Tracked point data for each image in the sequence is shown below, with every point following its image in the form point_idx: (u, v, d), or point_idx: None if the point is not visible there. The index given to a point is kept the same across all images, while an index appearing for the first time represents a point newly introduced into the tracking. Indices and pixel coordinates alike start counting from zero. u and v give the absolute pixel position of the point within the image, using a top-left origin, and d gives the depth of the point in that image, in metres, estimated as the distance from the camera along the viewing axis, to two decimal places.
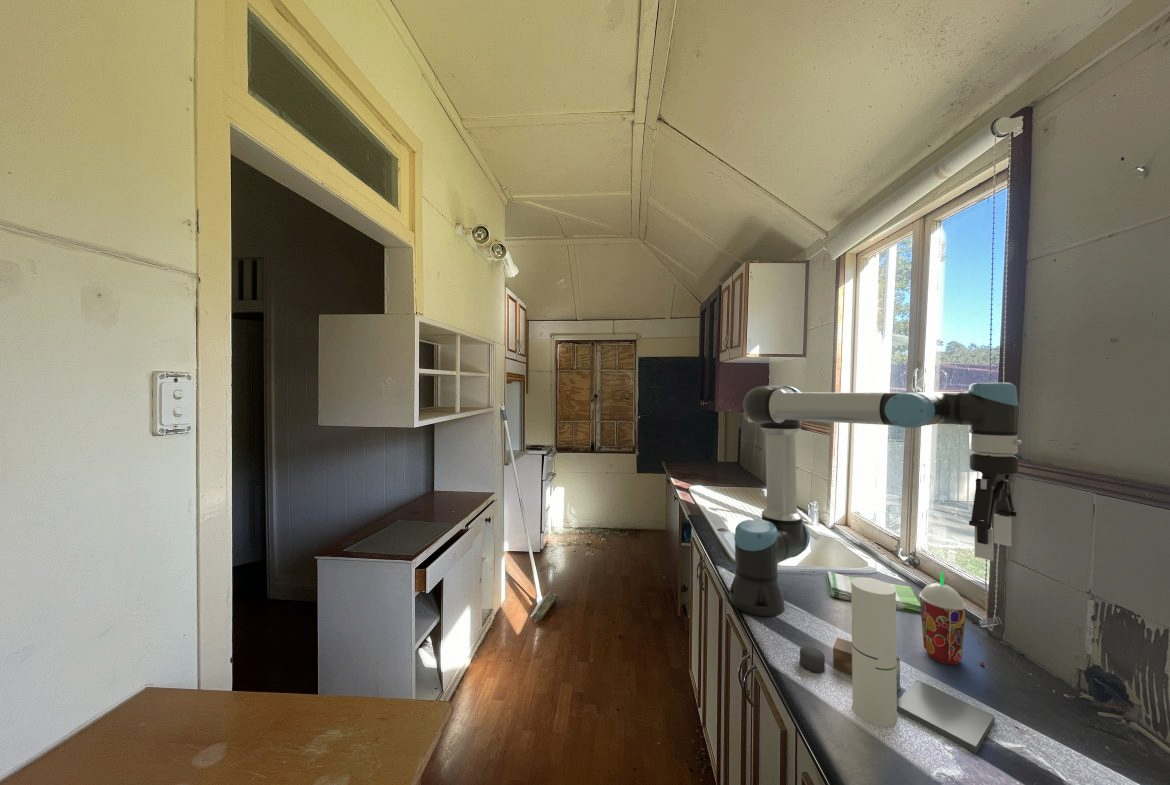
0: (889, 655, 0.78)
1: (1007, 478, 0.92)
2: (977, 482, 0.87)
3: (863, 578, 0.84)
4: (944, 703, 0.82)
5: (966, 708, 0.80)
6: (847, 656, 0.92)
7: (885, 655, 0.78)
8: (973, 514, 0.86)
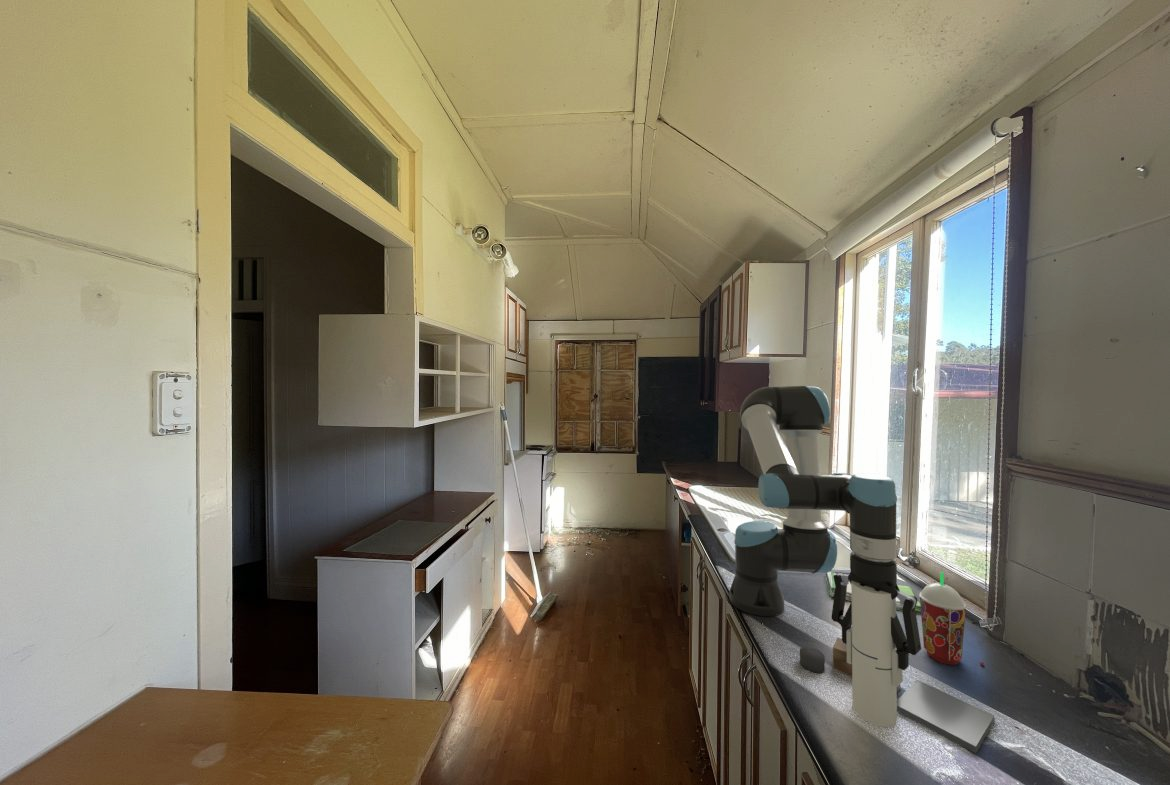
0: (889, 655, 0.78)
1: (904, 603, 0.76)
2: None
3: None
4: (944, 703, 0.82)
5: (966, 708, 0.80)
6: None
7: (885, 655, 0.78)
8: None
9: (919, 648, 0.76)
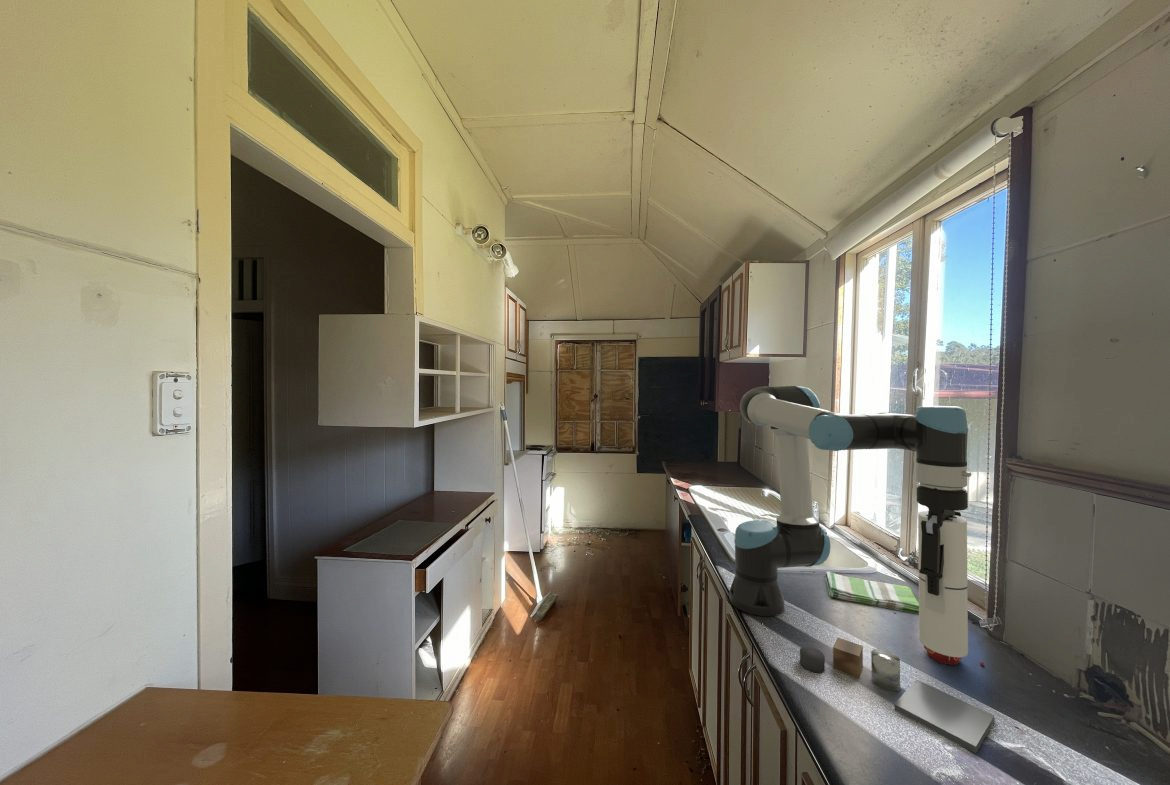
0: None
1: None
2: (922, 526, 0.77)
3: (925, 516, 0.80)
4: (944, 703, 0.82)
5: (966, 708, 0.80)
6: (847, 656, 0.92)
7: None
8: (922, 563, 0.77)
9: None
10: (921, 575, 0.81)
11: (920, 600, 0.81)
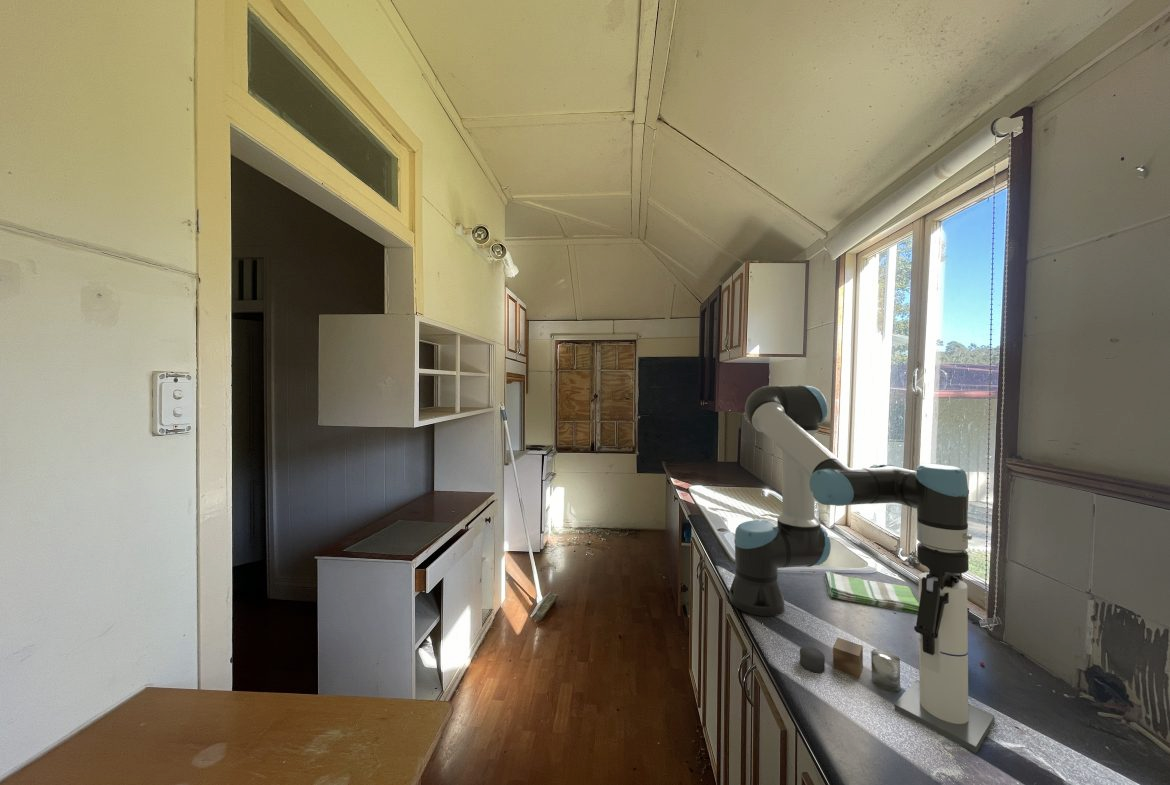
0: None
1: None
2: (923, 582, 0.77)
3: None
4: None
5: None
6: (847, 656, 0.92)
7: None
8: (918, 620, 0.76)
9: None
10: None
11: (920, 663, 0.81)
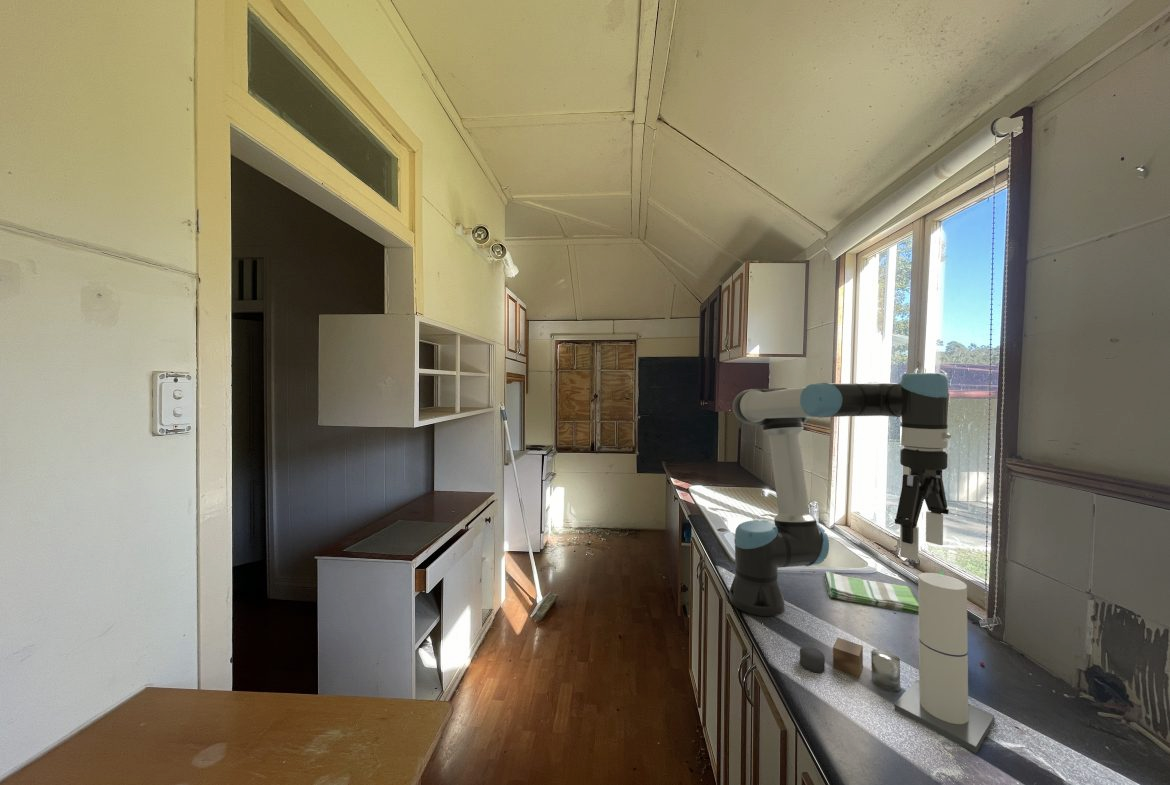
0: None
1: (939, 474, 0.87)
2: (903, 478, 0.82)
3: (925, 580, 0.80)
4: None
5: None
6: (847, 656, 0.92)
7: None
8: (898, 512, 0.81)
9: None
10: (921, 638, 0.81)
11: (920, 663, 0.81)
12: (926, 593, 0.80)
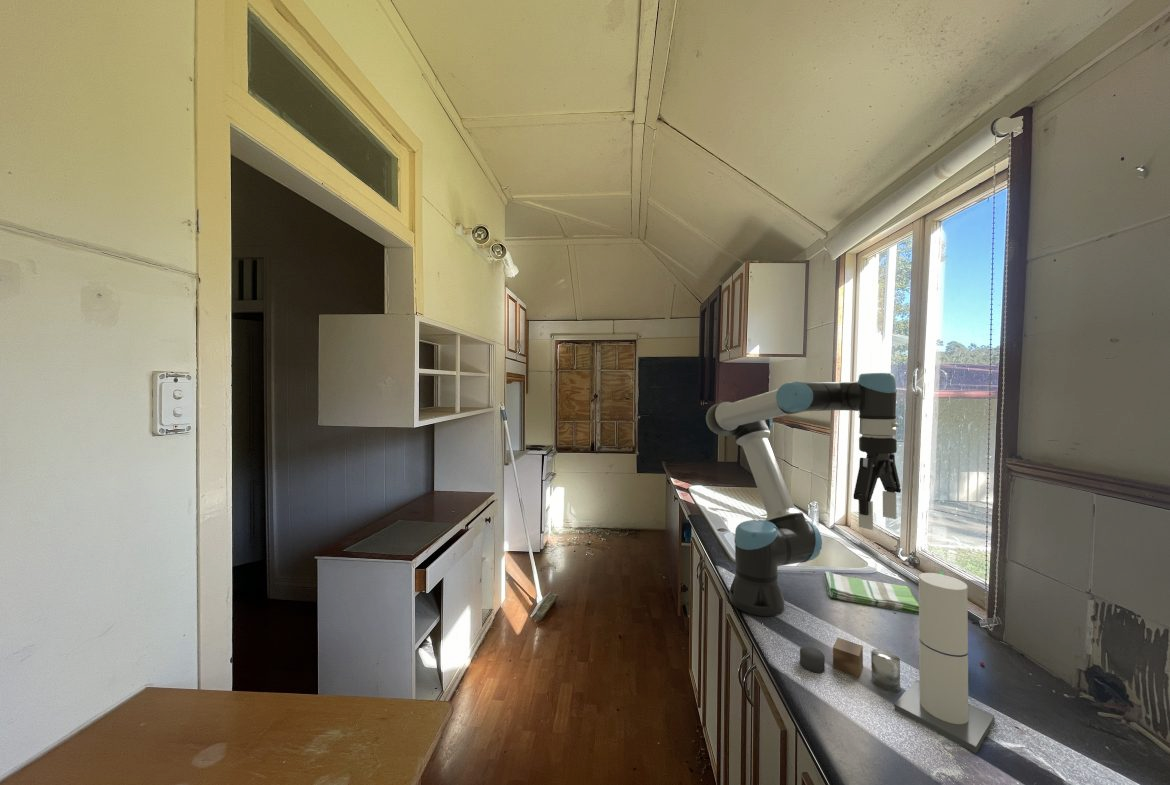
0: None
1: (892, 458, 1.04)
2: (860, 461, 0.98)
3: (926, 580, 0.80)
4: None
5: None
6: (847, 656, 0.92)
7: None
8: (855, 489, 0.97)
9: None
10: (922, 638, 0.81)
11: (920, 663, 0.81)
12: (927, 593, 0.79)
